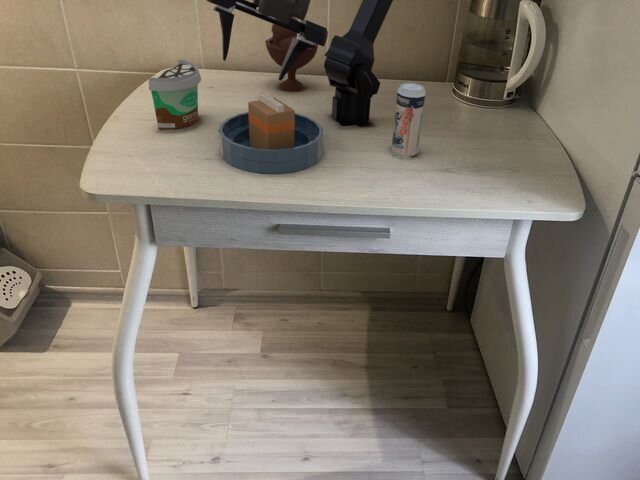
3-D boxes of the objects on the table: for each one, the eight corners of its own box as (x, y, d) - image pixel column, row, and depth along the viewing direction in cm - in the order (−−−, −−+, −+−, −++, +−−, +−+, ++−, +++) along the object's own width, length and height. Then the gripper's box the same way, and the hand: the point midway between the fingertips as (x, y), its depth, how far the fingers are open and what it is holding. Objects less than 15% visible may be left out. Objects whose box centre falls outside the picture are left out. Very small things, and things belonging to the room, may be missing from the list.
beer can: (386, 148, 108) (393, 82, 101) (410, 145, 109) (418, 80, 102) (398, 159, 104) (406, 92, 97) (422, 156, 106) (431, 90, 99)
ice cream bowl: (315, 97, 127) (317, 23, 118) (262, 93, 126) (260, 19, 118) (318, 81, 135) (320, 10, 127) (269, 77, 135) (268, 6, 126)
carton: (275, 141, 106) (274, 90, 100) (294, 155, 102) (294, 102, 96) (249, 147, 103) (247, 94, 98) (268, 161, 99) (267, 108, 94)
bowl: (304, 130, 112) (305, 107, 109) (335, 170, 99) (337, 145, 97) (212, 138, 106) (210, 114, 104) (232, 182, 93) (231, 155, 91)
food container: (187, 139, 105) (181, 83, 99) (155, 134, 106) (147, 78, 100) (215, 114, 115) (211, 62, 109) (185, 110, 116) (179, 58, 110)
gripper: (225, -62, 80) (194, 53, 85) (350, -8, 87) (316, 97, 92) (220, -56, 90) (193, 48, 95) (333, -7, 97) (303, 87, 102)
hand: (252, 70), depth 96 cm, fingers open, 9 cm apart
